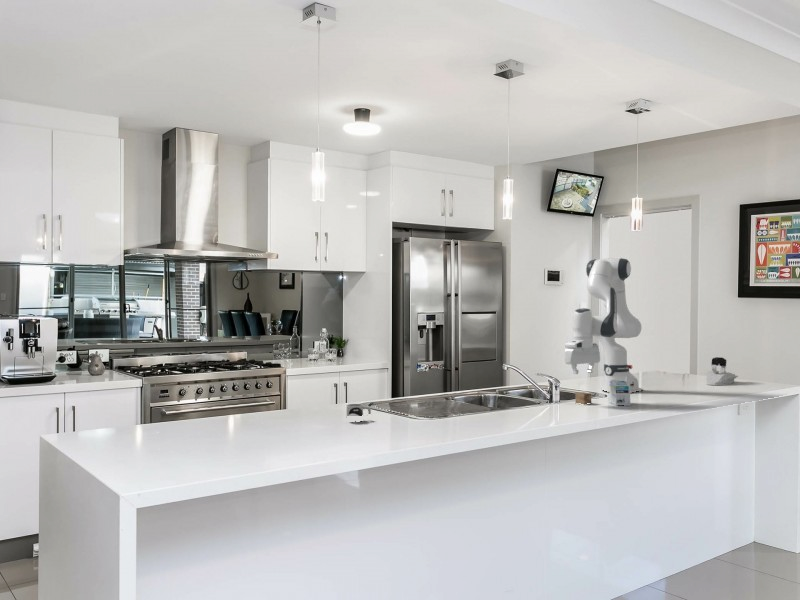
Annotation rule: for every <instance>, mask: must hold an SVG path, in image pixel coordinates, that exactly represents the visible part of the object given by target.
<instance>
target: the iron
mask: <svg viewBox="0 0 800 600" xmlns="http://www.w3.org/2000/svg"><path fill="white" fill-rule="evenodd" d="M717 366H719V367H720V371H718V370H717ZM726 369H727V359H726V358H724V357H718V356H716V357H712V358H711V370H710V371H709V370H708V371H707V373H705V374H706V385H709V386H727V385H731V384H733V383H734V382H735V379H737V378H738V377H739V375H736V374H735V373H731V372H727V371H726Z"/></svg>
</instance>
